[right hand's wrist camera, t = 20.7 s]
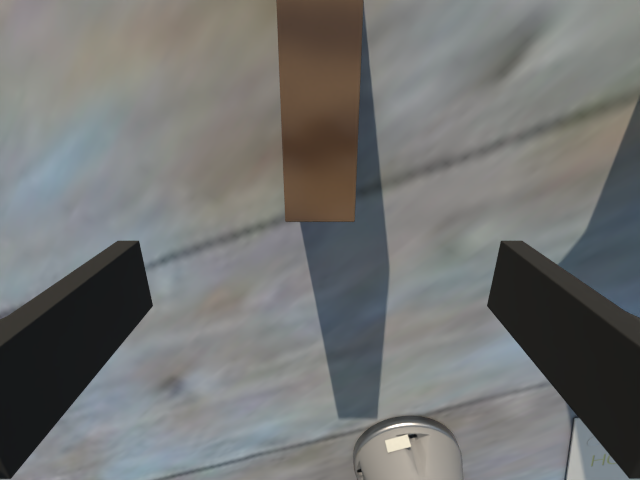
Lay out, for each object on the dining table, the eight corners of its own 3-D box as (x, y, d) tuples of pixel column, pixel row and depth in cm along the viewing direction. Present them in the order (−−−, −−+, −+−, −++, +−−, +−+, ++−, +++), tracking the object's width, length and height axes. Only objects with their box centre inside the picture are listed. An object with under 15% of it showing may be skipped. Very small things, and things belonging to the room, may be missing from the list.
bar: (346, 192, 36) (354, 222, 27) (293, 192, 36) (285, 222, 27) (354, -95, 27) (371, -191, 18) (285, -95, 27) (268, -191, 18)
